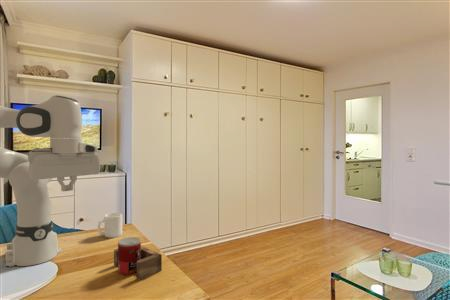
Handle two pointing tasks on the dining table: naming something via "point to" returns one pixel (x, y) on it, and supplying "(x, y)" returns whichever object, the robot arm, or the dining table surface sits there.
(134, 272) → the canned food
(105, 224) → the cup
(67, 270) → the dining table surface
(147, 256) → the corral
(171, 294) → the dining table surface
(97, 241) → the dining table surface
